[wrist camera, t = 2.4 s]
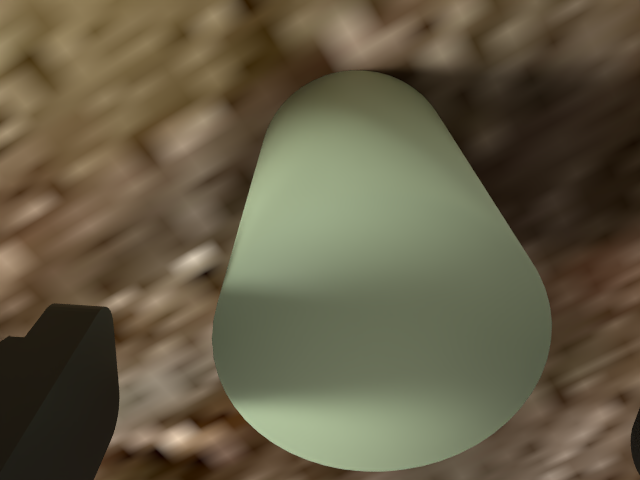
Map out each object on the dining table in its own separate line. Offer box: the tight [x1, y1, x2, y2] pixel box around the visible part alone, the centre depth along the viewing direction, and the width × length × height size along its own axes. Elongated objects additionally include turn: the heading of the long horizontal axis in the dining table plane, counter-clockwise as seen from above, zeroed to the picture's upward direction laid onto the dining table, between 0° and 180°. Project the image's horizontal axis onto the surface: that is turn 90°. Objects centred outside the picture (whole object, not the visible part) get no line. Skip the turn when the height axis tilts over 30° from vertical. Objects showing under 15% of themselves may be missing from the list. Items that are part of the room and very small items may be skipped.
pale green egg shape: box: [212, 70, 552, 471], centre depth 13 cm, size 5×5×8 cm
